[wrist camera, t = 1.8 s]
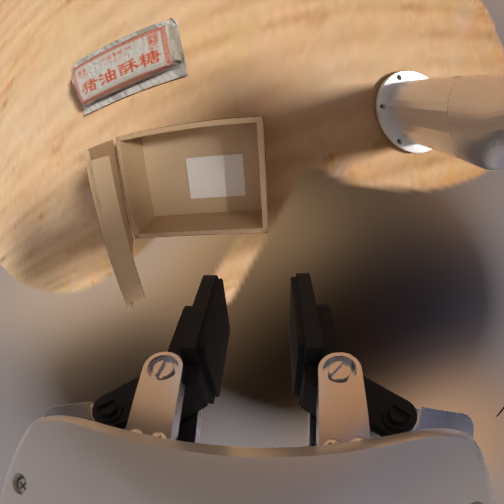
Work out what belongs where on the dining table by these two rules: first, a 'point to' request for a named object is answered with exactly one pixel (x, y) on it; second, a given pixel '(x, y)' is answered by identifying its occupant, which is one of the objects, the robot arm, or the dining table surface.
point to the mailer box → (196, 178)
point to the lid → (113, 218)
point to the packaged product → (130, 65)
